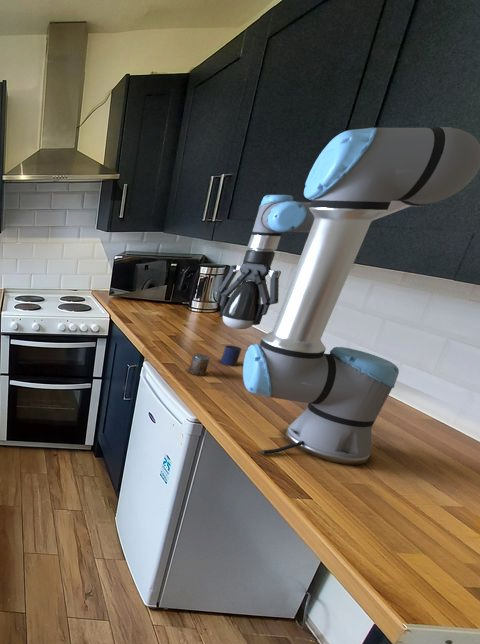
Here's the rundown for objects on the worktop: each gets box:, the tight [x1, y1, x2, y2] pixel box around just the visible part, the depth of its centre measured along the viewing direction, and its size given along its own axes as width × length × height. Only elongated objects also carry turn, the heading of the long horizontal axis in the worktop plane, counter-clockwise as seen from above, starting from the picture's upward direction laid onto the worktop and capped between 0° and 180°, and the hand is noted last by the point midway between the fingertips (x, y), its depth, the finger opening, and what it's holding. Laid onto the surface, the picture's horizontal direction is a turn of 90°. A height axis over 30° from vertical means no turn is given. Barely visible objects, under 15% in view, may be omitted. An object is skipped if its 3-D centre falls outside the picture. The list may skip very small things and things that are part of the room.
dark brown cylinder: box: [188, 353, 211, 377], centre depth 135 cm, size 5×5×6 cm
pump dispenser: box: [222, 280, 268, 330], centre depth 130 cm, size 10×10×15 cm
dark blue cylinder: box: [220, 345, 242, 367], centre depth 145 cm, size 5×5×6 cm
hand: (238, 320), depth 132 cm, fingers closed on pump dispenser, 10 cm apart
